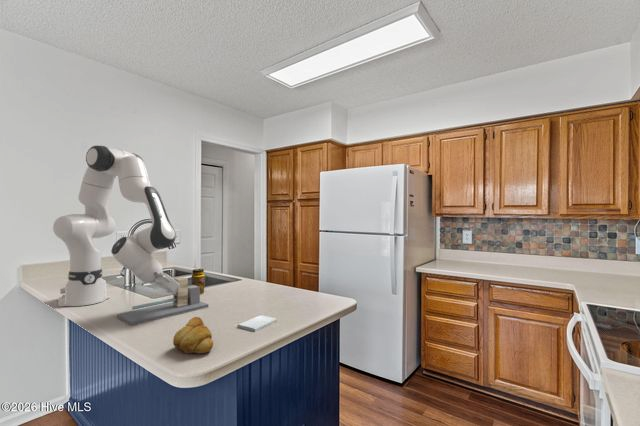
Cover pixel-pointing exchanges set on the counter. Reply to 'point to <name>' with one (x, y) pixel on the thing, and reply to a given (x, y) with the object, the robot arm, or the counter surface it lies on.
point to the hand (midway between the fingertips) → (174, 292)
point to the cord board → (163, 308)
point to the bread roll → (194, 337)
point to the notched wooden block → (181, 292)
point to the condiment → (198, 279)
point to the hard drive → (257, 323)
